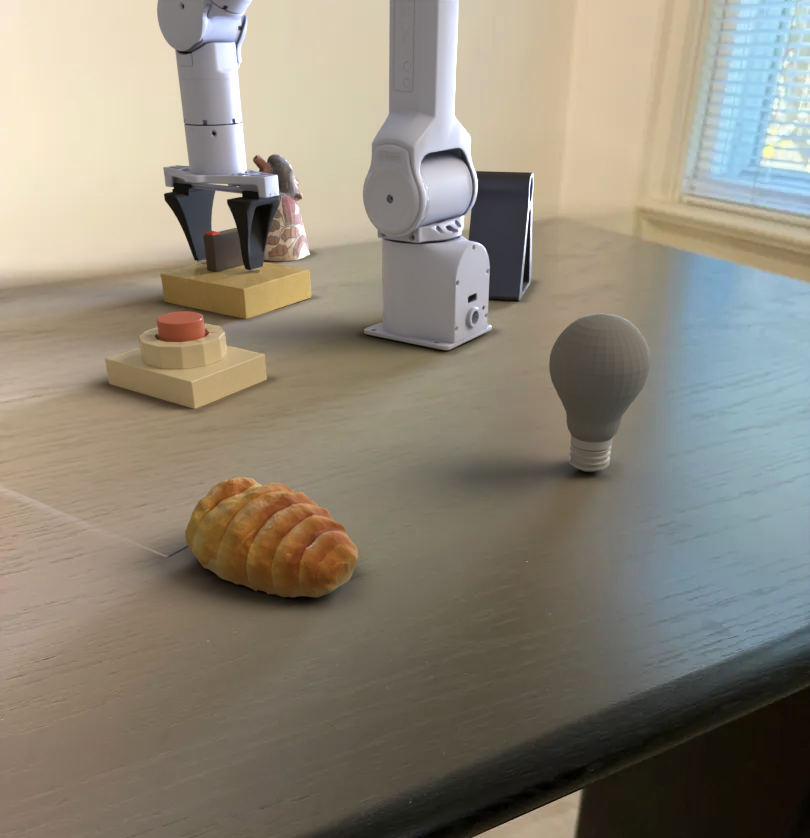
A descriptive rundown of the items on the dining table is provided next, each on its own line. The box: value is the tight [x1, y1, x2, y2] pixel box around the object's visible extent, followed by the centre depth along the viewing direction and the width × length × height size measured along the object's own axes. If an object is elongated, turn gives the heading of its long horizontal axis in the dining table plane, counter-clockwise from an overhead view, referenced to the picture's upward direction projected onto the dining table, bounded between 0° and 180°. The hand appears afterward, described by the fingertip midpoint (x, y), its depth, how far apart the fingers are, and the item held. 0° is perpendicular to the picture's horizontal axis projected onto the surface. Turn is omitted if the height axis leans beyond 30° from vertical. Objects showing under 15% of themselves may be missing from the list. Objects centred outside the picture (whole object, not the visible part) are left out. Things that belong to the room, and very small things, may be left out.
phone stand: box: [468, 170, 535, 302], centre depth 95 cm, size 9×6×12 cm, turn 164°
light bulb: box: [548, 312, 652, 473], centre depth 55 cm, size 6×6×10 cm
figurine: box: [252, 153, 311, 262], centre depth 111 cm, size 7×7×12 cm
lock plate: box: [160, 260, 312, 320], centre depth 94 cm, size 13×10×3 cm
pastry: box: [184, 476, 359, 598], centre depth 46 cm, size 9×7×4 cm
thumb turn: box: [203, 227, 244, 272], centre depth 94 cm, size 5×1×4 cm, turn 145°
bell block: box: [104, 322, 268, 410], centre depth 71 cm, size 10×8×4 cm
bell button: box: [155, 310, 206, 342], centre depth 70 cm, size 4×4×2 cm
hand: (228, 263), depth 95 cm, fingers open, 7 cm apart
